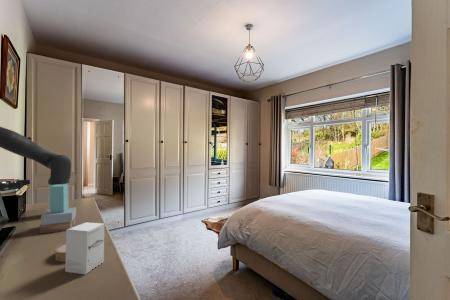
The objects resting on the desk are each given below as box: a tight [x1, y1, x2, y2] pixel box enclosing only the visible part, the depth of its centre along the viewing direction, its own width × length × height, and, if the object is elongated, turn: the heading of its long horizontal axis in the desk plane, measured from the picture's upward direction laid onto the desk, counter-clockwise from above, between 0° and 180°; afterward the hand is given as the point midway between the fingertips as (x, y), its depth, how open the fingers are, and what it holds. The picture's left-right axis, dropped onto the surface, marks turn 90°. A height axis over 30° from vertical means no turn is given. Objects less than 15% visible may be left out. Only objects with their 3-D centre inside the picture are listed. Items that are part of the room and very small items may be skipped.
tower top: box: [40, 206, 77, 225], centre depth 102 cm, size 11×11×4 cm
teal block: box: [50, 184, 68, 213], centre depth 101 cm, size 5×5×12 cm
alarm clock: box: [54, 237, 107, 263], centre depth 77 cm, size 11×5×15 cm
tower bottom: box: [39, 215, 77, 234], centre depth 102 cm, size 11×11×4 cm
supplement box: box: [64, 221, 105, 275], centre depth 67 cm, size 7×7×13 cm
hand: (25, 183), depth 97 cm, fingers open, 8 cm apart
